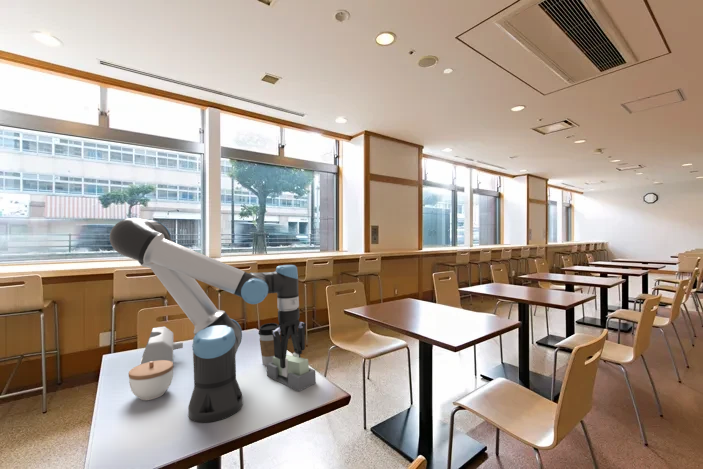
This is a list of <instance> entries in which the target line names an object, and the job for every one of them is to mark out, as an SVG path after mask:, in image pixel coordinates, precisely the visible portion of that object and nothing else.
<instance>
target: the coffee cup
mask: <svg viewBox="0 0 703 469" xmlns="http://www.w3.org/2000/svg"><path fill="white" fill-rule="evenodd" d="M278 325H279V323H276V322H269V323H263V324H262V325H260V326H259V328H258V329H259V330H258V335H259V346H260V347H259V348H260V353H261V361H262V362H261V363H262V365H263V366H267V363H270V362H273V357H274V356H275V354H274V339H273V335H272V330H276V329H277V328H278Z"/></svg>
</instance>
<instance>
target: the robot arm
mask: <svg viewBox="0 0 703 469" xmlns="http://www.w3.org/2000/svg"><path fill="white" fill-rule="evenodd" d="M109 243H110V245H111V246H112V248H113V249H114V251H116V252H117V254H120V255H122V256H124V257H127V258H129V259H133V260H135V261H137V262H138V263H139V264H140V266H141V267H142V268H149V269H150V270H151V271H152V273H153V274H154V275H155V276H156V277H157V280H159V282H161V284H162V285H163V287H164V288H165V290H167V292H168V293H169V295H170V296H171V297H172V298H173V300H174V301H175V302H176V303H177V305H178V307H179V308H180V309H181V310H182V312H183V313H184V314H185V315H186V317H187V318H188V319H189V321H190V322H191V323H192V324H193V326H194V330H193V335H194V336H193V340H192V346H191V347H192V356H193V357H192V360H193V385H194V386H193V390H192V394H191V396H190V397H191V398H190V400H189V403H188V407H187V408H188V414H187V416H188V417H189V419H190V420H192V421H194V422H197V423H211V422H212V423H213V422H216V421H217V422H218V421H221V420H224V419H227V418H229V417H231V416H232V415H235V413H237V412H239V410H241V408H242V407H243V405H244V404H243V403H244V399H243V398H244V396H243V392H242V390H241V388H240V385H239V383H238V380H237V368H236V367H237V365H236V360H237V359H236V354H237V352H238V349H239V347H240V345H241V342H242V340H243V331H242V327H241V325H240V324H239V322H238V321H236V320H235V319H233V318H230V316H229V314H227V312H226V311H225V310H221V309H220V310H219V309H218V308H217V307H216V305H215V304H214V302H213V301H212V300H211V299H210V298H209V296H208V295H207V293H206V292H205V291H204V289H203V288H202V287H201V285H200V284H199V283H198V281H199V282H202V283H204V284H207V285H209V286H212V287H214V288H217V289H219V290H223V291H225V292H228V293H230V294H232V295H235V296H237V297H239V298H242V300H243V301H244V302H245V303H247V304H250V305H257V304H260V303H262V302H263V301H264V300H265V298H266V297H268V294H276V298H277V300H276V301H277V303H276V304H277V309H278V310H277V320H278V328H277V329H276V330H272V335H273V339H274V354H275V357H276V358H278V359H280V367H281V368H282V376H284V377H286V378H287V377H288V358H286V355H287V354H288V353H287V351H288V344H289V339H290V338H291V342H292V346H293V350H294V351H293V352H292V356H295V357H299V358H301V355H302V354H303V351H304V350H306V347H305V346H306V344H305V342H306V340H305V336H306V335H305V333H306V332H305V329H306V326H307V323H305V322H303V321H300V320H299V319H300V309H299V307H300V301H299V300H300V297H299V295H300V294H299V276H298V275H299V273H298V266H296V265H295V264H283V265H281V264H280V265H278V266H276V268H275V271H269V272H268V271H267V272H266V271H265V272H250V273H249V272H246V271H244V270H241V269H240V268H237V267H235V266H232V265H230V264H227V263H224V262H222V261H220V260H217V259H215V258H212V257H210V256H208V255H205V254H203V253H200V252H199V251H196V250H193V249H191V248H189V247H186V246H185V245H184V246H183V245H181V244H179V243H176V242H174V241H173V240H172V234H171V232H170V230H169V229H168V227H167V226H166V225H165V224H163V223H162V222H160V221H158V220H155V219H151V218H149V219H148V218H138V217H135V218H134V217H131V218H130V217H128V218H125V219H122V220H120V221H118V222H117V223H115V225H113V227H112V228H111V230H110V233H109Z"/></svg>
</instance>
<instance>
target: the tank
mask: <svg viewBox="0 0 703 469" xmlns="http://www.w3.org/2000/svg"><path fill="white" fill-rule="evenodd" d="M183 343H184V342H183V341H178V342H174V332H173V331H171V329H169V328H167V326H158V327H153V328H152V330H151V332H150V334H149V337H148V340H147V342H146V346H145V347H144V348H145V349H144V350H143V354H142V355H141V359H140V362H141V364H144V363H147V362H150V361H158V360H168V361H171V362H173V363H174V360H173V358H174V351H175V350H180V349H184V344H183ZM141 364H140V363H139V365H141Z"/></svg>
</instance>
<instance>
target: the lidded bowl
mask: <svg viewBox="0 0 703 469" xmlns="http://www.w3.org/2000/svg"><path fill="white" fill-rule="evenodd" d="M173 377H174V361H173V362H171V361H168V360H158V361H150V362H147V363H144V364H141V365H140V364H139V365H136V366H134V367H133V368H131V369H130V370H129V371H128V380H129V381H128V383H129V388H130V392H132V394H133V395H134V396H135V397H137V398H139V400H141V401H150V400H151V401H152V400H155V399H157V398H160V397H162V396H163V395H165V393H166V392H167V390H168V389H169V387H170V386H171V383H172V381H173Z"/></svg>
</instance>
